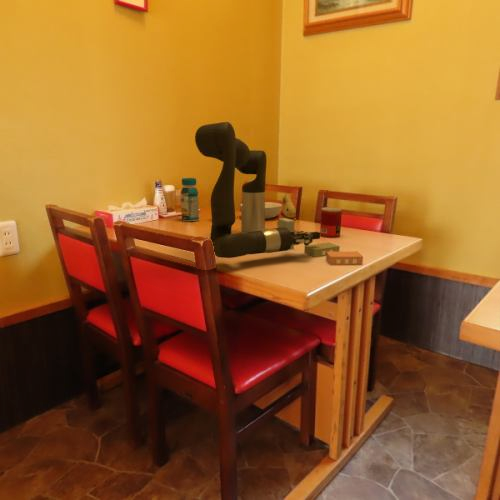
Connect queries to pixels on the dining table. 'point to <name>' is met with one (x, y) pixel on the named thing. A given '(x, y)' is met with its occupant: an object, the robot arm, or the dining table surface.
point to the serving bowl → (270, 209)
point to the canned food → (330, 222)
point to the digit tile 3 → (344, 258)
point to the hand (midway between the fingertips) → (318, 235)
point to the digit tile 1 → (286, 225)
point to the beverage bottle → (189, 200)
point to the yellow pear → (288, 209)
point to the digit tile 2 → (320, 249)
